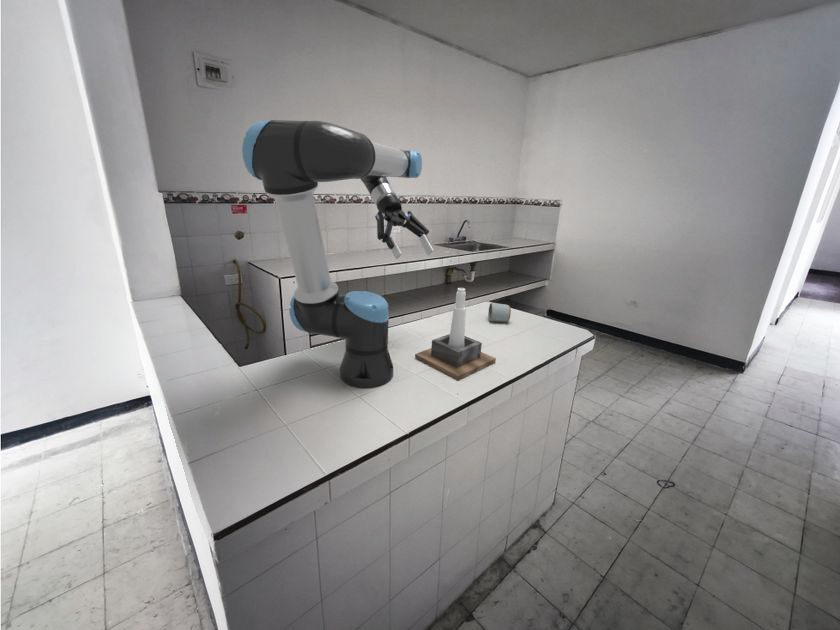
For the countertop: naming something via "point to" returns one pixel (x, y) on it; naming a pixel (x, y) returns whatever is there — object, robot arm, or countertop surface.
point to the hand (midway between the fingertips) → (415, 254)
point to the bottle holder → (455, 357)
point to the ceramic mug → (499, 312)
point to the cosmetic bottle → (458, 321)
